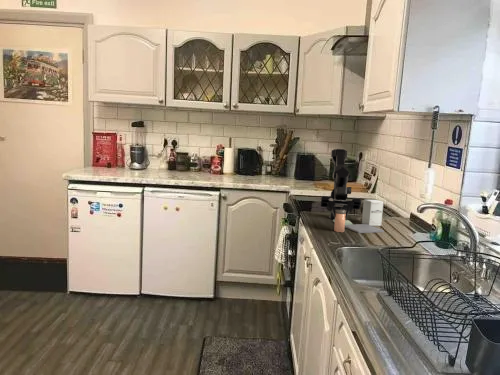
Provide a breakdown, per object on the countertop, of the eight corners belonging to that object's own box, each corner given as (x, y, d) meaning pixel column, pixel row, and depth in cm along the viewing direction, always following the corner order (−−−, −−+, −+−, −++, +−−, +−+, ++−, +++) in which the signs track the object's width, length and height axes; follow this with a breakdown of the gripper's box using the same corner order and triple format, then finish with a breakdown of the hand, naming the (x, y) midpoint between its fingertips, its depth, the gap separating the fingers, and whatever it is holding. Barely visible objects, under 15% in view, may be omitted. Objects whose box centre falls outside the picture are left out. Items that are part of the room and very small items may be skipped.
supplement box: (368, 226, 222) (370, 201, 220) (361, 223, 229) (363, 199, 227) (381, 226, 224) (383, 201, 222) (373, 222, 231) (376, 199, 229)
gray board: (342, 226, 218) (342, 224, 218) (366, 225, 223) (366, 224, 223) (358, 233, 205) (358, 231, 205) (383, 232, 210) (383, 230, 210)
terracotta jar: (333, 229, 210) (334, 209, 209) (343, 230, 210) (344, 209, 209) (335, 231, 205) (336, 210, 204) (345, 232, 205) (347, 211, 204)
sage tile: (333, 221, 229) (333, 219, 229) (348, 222, 230) (348, 220, 230) (336, 224, 222) (336, 222, 221) (352, 225, 222) (352, 223, 222)
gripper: (322, 179, 210) (321, 205, 200) (362, 181, 208) (363, 208, 198) (320, 193, 219) (319, 219, 209) (359, 195, 216) (359, 222, 207)
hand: (340, 217), depth 206 cm, fingers closed on terracotta jar, 5 cm apart
